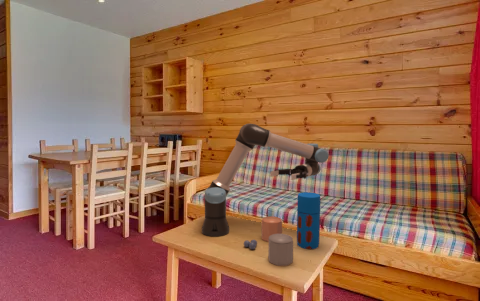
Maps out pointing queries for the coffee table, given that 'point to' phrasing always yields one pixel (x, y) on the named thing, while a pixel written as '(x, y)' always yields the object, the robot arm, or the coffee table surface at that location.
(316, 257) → the coffee table surface
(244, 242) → the marble
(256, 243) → the marble
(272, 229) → the octagonal lidded canister
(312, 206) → the thermos
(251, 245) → the marble
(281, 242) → the brown octagonal jar
